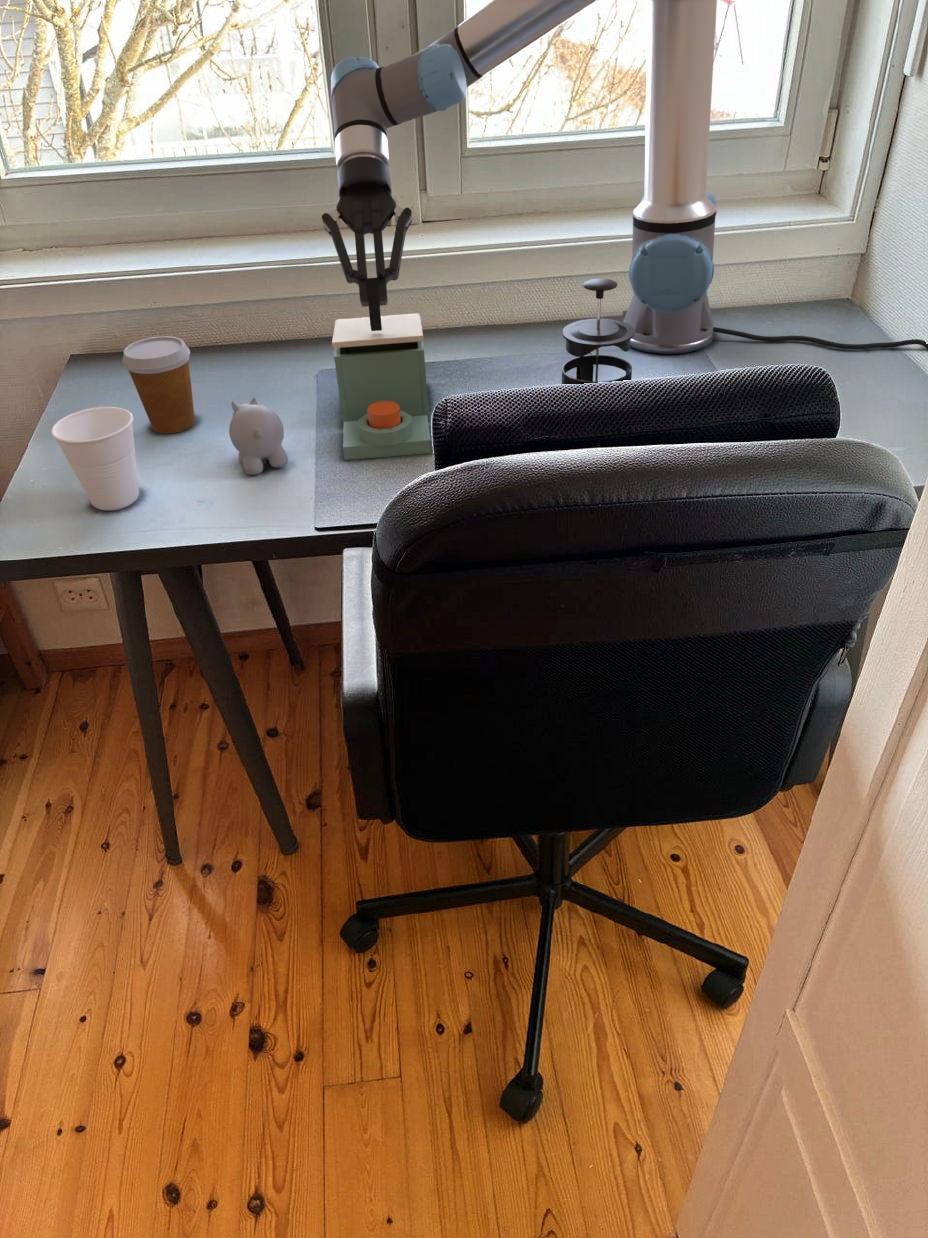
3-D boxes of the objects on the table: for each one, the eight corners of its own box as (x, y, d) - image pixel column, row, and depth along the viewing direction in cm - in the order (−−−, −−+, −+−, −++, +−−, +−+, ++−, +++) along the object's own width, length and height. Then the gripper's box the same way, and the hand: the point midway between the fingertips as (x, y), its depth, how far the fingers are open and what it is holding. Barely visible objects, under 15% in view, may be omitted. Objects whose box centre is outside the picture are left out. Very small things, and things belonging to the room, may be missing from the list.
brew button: (400, 415, 132) (398, 399, 131) (401, 429, 128) (399, 413, 127) (369, 417, 132) (367, 402, 130) (369, 431, 128) (367, 415, 127)
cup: (61, 507, 123) (33, 430, 116) (121, 475, 129) (98, 400, 123) (110, 527, 118) (85, 448, 112) (170, 492, 125) (149, 416, 118)
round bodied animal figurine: (274, 434, 137) (264, 379, 132) (295, 469, 128) (284, 411, 123) (225, 445, 135) (213, 389, 130) (243, 481, 126) (230, 423, 121)
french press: (639, 465, 124) (652, 291, 110) (570, 474, 123) (574, 299, 109) (612, 427, 134) (621, 261, 120) (548, 435, 133) (549, 269, 119)
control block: (428, 427, 136) (426, 401, 134) (431, 455, 130) (429, 428, 127) (345, 434, 136) (342, 408, 134) (344, 462, 129) (340, 435, 127)
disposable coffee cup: (131, 424, 142) (109, 347, 135) (188, 405, 147) (170, 329, 139) (158, 445, 136) (137, 365, 129) (217, 424, 141) (199, 346, 134)
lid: (423, 341, 130) (423, 335, 130) (332, 348, 130) (331, 342, 129) (420, 318, 142) (419, 312, 141) (336, 324, 141) (335, 319, 141)
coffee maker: (429, 420, 138) (424, 349, 132) (343, 427, 138) (334, 356, 131) (425, 386, 148) (420, 318, 142) (345, 392, 148) (336, 324, 141)
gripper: (409, 182, 138) (423, 334, 135) (320, 188, 137) (332, 341, 134) (408, 150, 130) (422, 310, 127) (314, 156, 130) (325, 317, 127)
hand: (376, 326), depth 131 cm, fingers closed
